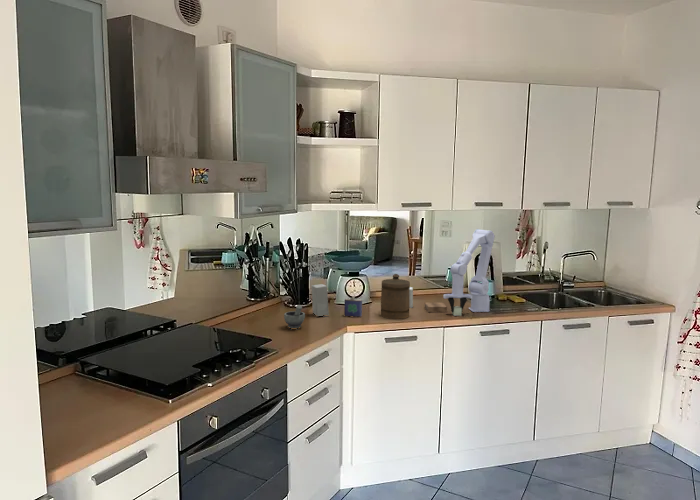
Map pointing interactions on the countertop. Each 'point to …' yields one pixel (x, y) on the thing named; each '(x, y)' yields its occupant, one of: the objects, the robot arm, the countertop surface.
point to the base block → (435, 307)
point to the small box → (411, 297)
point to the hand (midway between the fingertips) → (456, 311)
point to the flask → (353, 307)
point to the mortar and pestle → (295, 317)
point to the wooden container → (395, 298)
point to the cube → (457, 311)
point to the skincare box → (320, 300)
